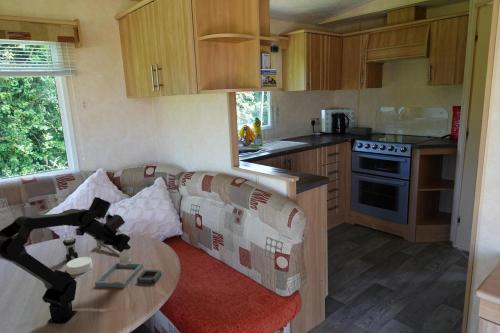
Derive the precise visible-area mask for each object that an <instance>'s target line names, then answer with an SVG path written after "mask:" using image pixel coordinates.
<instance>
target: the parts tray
mask: <svg viewBox="0 0 500 333" xmlns="http://www.w3.org/2000/svg"><path fill="white" fill-rule="evenodd" d="M117 268H127V269H128V268H130V269H131V268H132V269H133V268H134V270H133V271H132V272H131V273H130V274H129V276H127V278H126V279H125V280H124V281H121V282H120V281H105V280H106V279H107V278H108V277H109V276H110V275H112V273H113V272H114V271H115V270H116V269H117ZM143 268H144V265H143V263H142V262H139V263H138V262H131V263H130V264H128V265H120V261H119V262H115V263H113V265H111V267H109V269H107V271H105V273H103V274H102V275H101V276H99V278H97V279H96V281H95V282H94V285H95V288H96V287H97V288H98V287H99V288H101V287H103V288H121V289H125V288H127V286H128V284H130V282H131V281H133V279H134V278H135V277H136V276H137V275H138V273H139V272H140V271H141V270H142V269H143Z"/></svg>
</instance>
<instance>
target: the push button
mask: <svg viewBox="0 0 500 333" xmlns="http://www.w3.org/2000/svg"><path fill="white" fill-rule="evenodd" d="M76 243H77V239H76V238H74V237H73V236H69V237H65V239H64V240H63V241H62V244H63V246H65V250H66V253H65V257H62V258H61V259H62V262H64V261H67V262H69V261H71V260H73V259H76V258H79V254H78V251H77V250H76V246H75V244H76Z"/></svg>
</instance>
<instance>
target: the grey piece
mask: <svg viewBox="0 0 500 333" xmlns="http://www.w3.org/2000/svg"><path fill="white" fill-rule="evenodd" d="M163 275H164V272H162V270H159V269H147V270H145V269H144V270H142V272H141V273H140V274H139V275H138V276H137V278H136V283H135V284H134V286H140V287H141V286H142V287H144V286H145V287H155V286H156V285H157V283H158V282H159V280H160V279H161V278H162V276H163Z"/></svg>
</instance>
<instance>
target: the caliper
mask: <svg viewBox="0 0 500 333" xmlns="http://www.w3.org/2000/svg"><path fill="white" fill-rule="evenodd" d="M95 241H96V243H95V244H96V247H97V248H99V249H101V248H102V247H103V248H106V249H107V250H108V251H110V252H112V253H113V254H114V255H116V256H118V257H119V251H117V250H115V249H113V248H112V246H111V245H105V244H103V242H99V241H97V240H95Z"/></svg>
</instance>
